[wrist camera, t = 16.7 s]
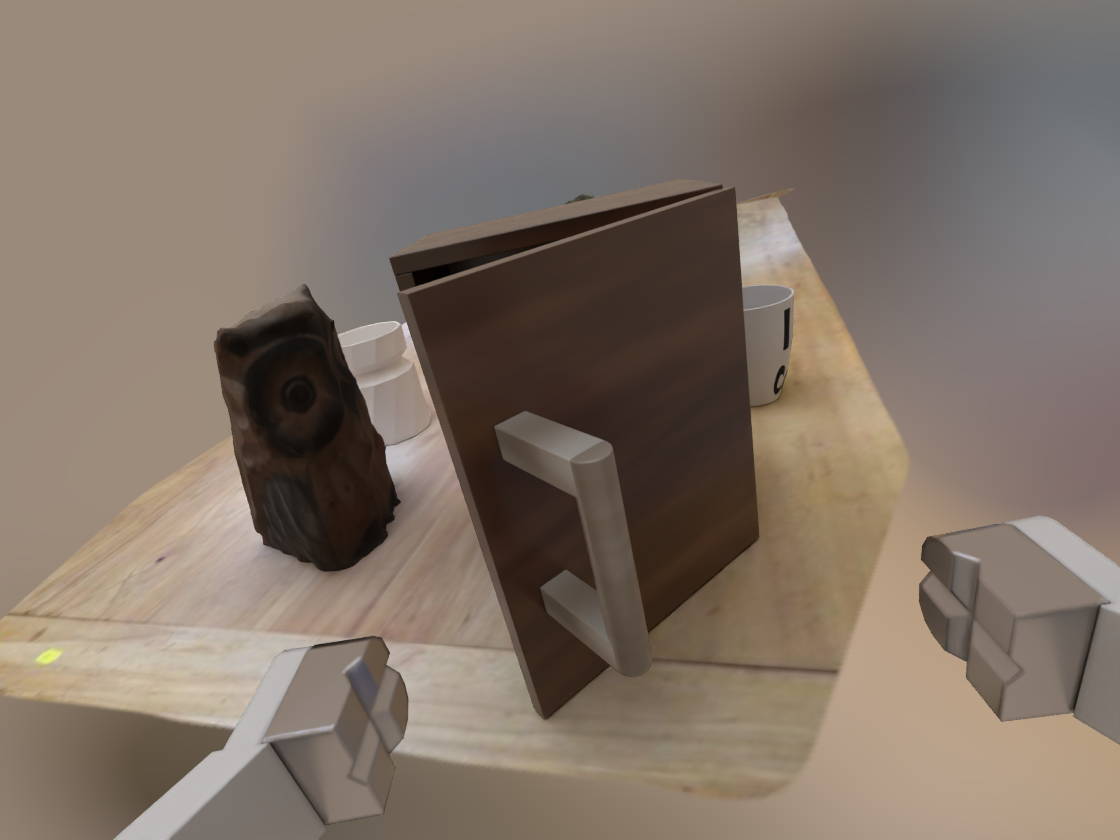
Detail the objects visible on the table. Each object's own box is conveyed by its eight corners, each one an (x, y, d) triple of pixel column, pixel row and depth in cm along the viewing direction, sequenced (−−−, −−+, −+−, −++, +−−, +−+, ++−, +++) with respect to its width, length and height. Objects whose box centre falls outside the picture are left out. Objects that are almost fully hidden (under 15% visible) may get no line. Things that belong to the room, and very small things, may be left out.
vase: (358, 429, 70) (322, 337, 65) (426, 406, 72) (396, 316, 67) (362, 456, 62) (321, 355, 57) (438, 429, 64) (405, 330, 59)
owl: (387, 474, 57) (311, 278, 48) (450, 514, 47) (369, 280, 39) (260, 541, 50) (145, 326, 42) (304, 603, 41) (168, 342, 32)
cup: (800, 410, 51) (797, 304, 47) (708, 416, 54) (698, 315, 50) (793, 376, 58) (790, 280, 54) (712, 382, 61) (703, 291, 56)
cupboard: (749, 528, 38) (722, 184, 29) (491, 573, 39) (388, 257, 30) (711, 457, 47) (682, 178, 38) (503, 495, 48) (426, 234, 39)
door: (847, 574, 32) (853, 173, 23) (625, 807, 24) (495, 304, 14) (746, 531, 38) (719, 188, 29) (533, 707, 29) (396, 292, 20)
